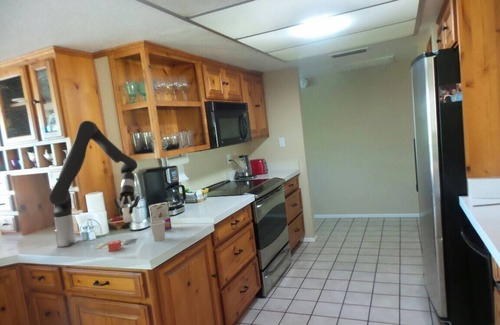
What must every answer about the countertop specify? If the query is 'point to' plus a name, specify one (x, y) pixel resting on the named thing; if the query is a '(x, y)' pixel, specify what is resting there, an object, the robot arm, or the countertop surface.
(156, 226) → the dixie cup
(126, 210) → the pawn
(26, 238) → the countertop surface
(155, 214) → the candy bar box
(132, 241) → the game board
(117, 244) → the red die
